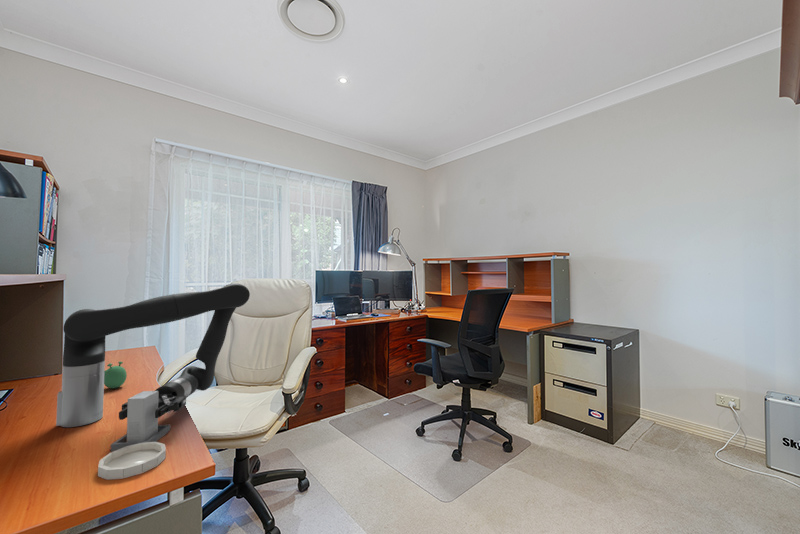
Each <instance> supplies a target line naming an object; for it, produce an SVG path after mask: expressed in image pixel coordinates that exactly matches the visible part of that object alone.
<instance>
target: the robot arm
mask: <svg viewBox="0 0 800 534" xmlns="http://www.w3.org/2000/svg"><path fill="white" fill-rule="evenodd" d="M250 294H251V293H250V290H249V289H248V288H247V287H246V286H245V285H243V284H241V283H228V284H226V285H224V286H223V287H220V288H215V289H211V290H206V291H191V292H189V291H188V292H180V293H179V292H178V293H173V294H167V295H162V296H156V297H153V298H148V299H145V300H142V301H141V300H140V301H138V302H136V303H132V304H129V305H125V306H120V307H114V308H113V307H112V308H104V309H93V308H84V309H83V308H82V309H79V310H77V311H75V312H72V313H71V314H70V315H69V316H68V317H67V319H66V320H65V321H64V324H63V333H64V342H63V355H62V377H61V378H62V380H61V391H58V393H57V396H56V420H55V421H56V422H55V423H56V424H55V426H56V427H59V426H60V427H62V428H74V427H80V426H81V427H82V426H87V425H89V424H92V423H95V422H97V421H99V420H101V419H102V418H103V416H104V398H105V397H104V394H105V392H104V391H105V385H104V371H105V367H106V366H105V365H106V336H109V335H113V334H115V333H119V332H122V331H127V330H131V329H139V328H146V327H151V326H157V325H162V324H167V323H168V324H169V323H173V322H176V321H180V320H185V319H188V318H192V317H194V316H198V315H202V314H206V313H208V312H212V311H213V315H212V318H211V320H210V322H209V325H208V326H207V327H208V328H207V329H206V332H205V334H204V336H203V339H202V340H201V343H200V344H199V347H198V350H197V351H196V353H195V358H196V359H197V361H200V362H201V363H203V364H204V366H205V367H204V368H202V367H199V366H194V365H190V366H187V367H185V368H184V369H183V370H182V371H181V374H180V375H179V376H178V377H177V378H174V379H171V380H170V381H167V382H166V383H165V384H163V385H161V386H159V387H157V388H156V389H155V390H154V391H159V394H158V409H156V411H155V418H158V419H160V418H161V417H162V416H165V415H166V414H168V413H171V411H172V412H173V413H177V412H179V411H180V410H181V409H183V407H185V406H186V404H187V398H188V397H189V396H191V395H192V394H194V393H195V392H196V391H197V390H198V391H201V392H202V391H206V390H208V389H209V388H210V387H211V386H212V384H213V383H214V380H215V379H214V378H215V371H216V364H217V361H218V358H219V355H220V352H221V350H222V348H223V345H224V343H225V340H226V336H227V331H228V327H229V324H230V321H231V318H232V316H233V314H234V312H235V311H236V309H237V308H240V307H242V306H244V305H245V304H246V303H247V302H248V301H249V299H250ZM127 410H128V401H127V402H124V403H123V404H121V410H120V411H119V412H118V418H119V419H118V420H119V421H120V420H121V421H122V420H125V419H127Z"/></svg>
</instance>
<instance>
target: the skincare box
mask: <svg viewBox="0 0 800 534" xmlns="http://www.w3.org/2000/svg"><path fill="white" fill-rule="evenodd" d="M158 394H159V391H155V390H143V391H141V392H138V393H136V394H135V395H133V396H131V397H129V398H127V402H128V410H127V418H126V434H127V442H142V441H147V440H149V439H150V438H151V437H153V436H154V435H155V434H156V433H158V425H159V418H155V411H156V409H158Z"/></svg>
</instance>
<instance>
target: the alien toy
mask: <svg viewBox="0 0 800 534" xmlns="http://www.w3.org/2000/svg"><path fill="white" fill-rule="evenodd" d="M117 363H118V365H113V363H111V362H110V363H108V364H107V366H106V367H109V368H107V369H106V370H105V369H104V387H106V388H108V389H112V390H113V389H118V388H119V387H121V386H122V385H124V383H125V382H126V380H127V371H126V368H124V367H123V366H122V364H124V362H123V361H120V360H119V361H118V362H117ZM112 365H113V366H112Z"/></svg>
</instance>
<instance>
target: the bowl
mask: <svg viewBox="0 0 800 534" xmlns="http://www.w3.org/2000/svg"><path fill="white" fill-rule="evenodd" d="M166 449H167V448H166V444H165V443H162V442H159V441H157V442H144V443H138V444H134V445H130V446H126V447H123V448H121V449H118V450H116V451H110V452H109V453H107V454H106V455H105V456H104V457H102V458H101V459H99V461H98V466H97V467H98V468H97V477H99V478H102V479H104V480H120V479H126V478H129V477H130V478H131V477H134V476H137V475H141V474H143V473H146V472H148V471H150V470H151V469H153V468H156V467H157V466H159V465H160V464H161V463H162V462H163V461H165V459H166V455H167V454H166V453H167V452H166Z"/></svg>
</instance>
